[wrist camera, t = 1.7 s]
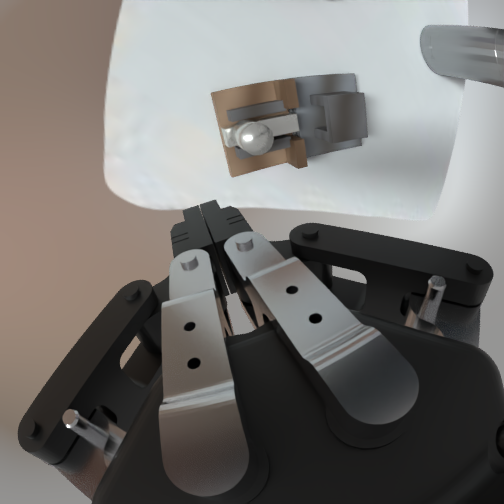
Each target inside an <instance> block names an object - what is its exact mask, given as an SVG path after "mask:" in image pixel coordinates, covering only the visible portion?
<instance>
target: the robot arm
mask: <svg viewBox="0 0 504 504" xmlns="http://www.w3.org/2000/svg"><path fill="white" fill-rule="evenodd" d="M421 49H422V53H423V56H424V59H425V61H426V63H427V64H428V66H429V67H430V69H431V70H432V71H434V72H435V73H436V74H439V75H446V76H452V77H458V78H463V79H469V80H474V81H479V82H483V83H488V84H492V85H496V86H500V87H504V29H497V28H488V27H478V26H462V25H428V26H426V27H425V28H424V29H423V31H422V33H421ZM200 208H201V211H202V214H201V211H200ZM200 208H199V206H198V205H197V206H194V207H191V208H188V209H185V210H183V214H184V219H185V221H184V222H181V223H178V224H175V225H174V226H173V228H172V230H171V240H172V248H173V255H174V259H173V261H172V262H171V264H170V269H169V271H170V272H169V273H170V274H169V276H168V277H167V278H166V279H165V280H163V281H161V282H160V283H158V284H156V285H155V286H153V287H152V285H151V284H150V282H148V281H146V280H137V281H133V282H131V283H129V284H127V285H125V286H124V287H123V288H122V289H120V291H118V293H117V294H116V295H115V296H114V298H113V299H112V300H111V301H110V302H109V303H108V304H107V306H106V307H105V308H104V309H103V310H102V312H101V313H100V314H99V315H98V317H97V318H96V319H95V320H94V321H93V322H92V324H91V325H90V326H89V328H88V329H87V330H86V331H85V332H84V334H83V335H82V336H81V338H80V339H79V340H78V341H77V343H76V344H75V345H74V347H73V348H72V349H71V350H70V352H69V353H68V354H67V356H66V357H65V358H64V360H63V361H62V362H61V364H60V365H59V366H58V368H57V369H56V370H55V372H54V373H53V374H52V376H51V377H50V379H49V380H48V381H47V383H46V384H45V386H44V387H43V388H42V390H41V391H40V393H39V394H38V396H37V397H36V398H35V400H34V401H33V403H32V404H31V406H30V407H29V409H28V411H27V412H26V413H25V415H24V416H23V418H22V420H21V422H20V424H19V428H18V440H19V443H20V445H21V447H22V448H23V449H24V450H25V451H27V452H28V453H30V454H32V455H34V456H36V457H38V458H39V459H41V460H43V461H44V462H45V463H46V464H48V465H50V466H52V467H54V468H56V469H57V470H58V471H59V472H61V473H62V474H63V475H64V476H65V477H66V478H67V479H68V480H69V481H70V482H71V483H72V484H73V485H74V486H75V487H77V488H78V489H79V490H80V491H81V492H82V493H84V494H85V495H86V496H87V497H88V498H89V499H91V500H92V504H504V388H503V384H502V379H501V376H500V372H499V370H498V368H497V366H496V364H495V363H494V361H493V360H492V358H491V357H490V356H489V355H488V354H487V353H485V352H484V351H483V350H481V349H480V348H478V347H479V332H480V307H481V305H482V303H483V300H484V298H485V296H486V293H487V291H488V288H489V286H490V284H491V281H492V279H493V270H492V268H491V266H490V265H489V264H488V262H486V261H485V260H484V259H482V258H480V257H478V256H476V255H472V254H468V253H464V252H459V251H455V250H450V249H446V248H442V247H437V246H433V245H428V244H423V243H419V242H414V241H409V240H404V239H399V238H394V237H389V236H384V235H379V234H374V233H369V232H363V231H358V230H353V229H347V228H341V227H336V226H330V225H324V224H319V223H306V224H302V225H299V226H297V227H295V228H294V229H293V230H291V232H290V235H289V238H290V240H283V241H276V242H275V241H268V240H267V239H266V238H265V237H264V236H263V235H262V234H260V233H258V232H254V231H253V230H252V229H251V227H250V226H249V224H248V223H247V221H246V220H245V218H244V217H243V216H242V214H241V213H240V211H239V210H238V209H236V208H234V207H231V206H229V207H226V208H223V209H220V207H219V205H218V203H217V201H216V200H212V201H209V202H206V203H203V204H200ZM202 215H203V216H202ZM203 218H204V219H203ZM332 265H333V266H337V267H342V268H346V269H350V270H355V271H358V272H360V273H362V274H363V275H364V276H365V278H366V280H367V284H364V283H359V282H355V281H351V280H347V279H343V278H339V277H335V276H332ZM221 269H222V270H221ZM222 272H223V273H222ZM223 275H224V276H223ZM224 277H225V280H226V282H227V285H228V287H229V290H230V292H231V294H233V293H236V292H237V293H238V295H239V299H240V302H241V305H242V308H243V310H244V311H245V313H246V315H247V316H248V318H249V320H250V322H251V324H252V325H253V327H254V329H255V330H254V331H252V332H250V333H246V334H240V335H234V331H233V327H232V323H231V319H230V315H229V312H228V309H227V301H226V298H225V296H227V295H229V291H228V288H227V285H226V283H225V280H224ZM135 336H137V338H138V339H139V340H140V342H141V343H140V344H139V346H138V347H137V349H136V350H135V351H134V353H133V354H132V356H131V357H130V359H129V360H128V361H127V363H126V364H125V366H124V367H123V369H121V367H120V358H121V356H122V354H123V352H124V351H125V350H126V348H127V346H128V345H129V344H130V343H131V341H132V340H133V338H134V337H135Z"/></svg>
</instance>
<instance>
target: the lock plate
mask: <svg viewBox="0 0 504 504" xmlns="http://www.w3.org/2000/svg"><path fill="white" fill-rule="evenodd" d="M211 96H212V100H213V105H214V109H215V113H216V117H217V121H218V126H219V130H220V134H221V138H222V142H223V147H224V151H225V155H226V159H227V163H228V168H229V172H230V175H231V177H236V176H239V175H243V174H246V173H250V172H253V171H257V170H260V169H264V168H268V167H271V166H275V165H279V164H283V163H289V164H291V165H292V166H294V167H296V168H298V169H299V168H303V167H307V166H308V165H307V157H311V156H316V155H320V154H324V153H329V152H333V151H338V150H343V149H348V148H352V147H357V146H362V143H361V138H366V137H368V131H367V118H366V107H365V98H364V93H359V92H357V90H356V82H355V74H330V75H317V76H306V77H297V78H289V79H282V80H274V81H268V82H262V83H256V84H250V85H245V86H240V87H235V88H230V89H225V90H221V91H217V92H212V93H211ZM288 109H293V113H296V114H297V119H298V125H299V131H297V132H296V134H297V136H294V135H292V133H287V134H282V135H278V136H273V137H274V140H273V144H272V147H271V148H270V149H269V151H267V152H266V153H264V154H262V155H252V154H250V153H248V152H246V151H245V150H243V149H242V148H240V147H239V146H233V147H227V146H226V145H225V142H224V138H223V134H222V130H221V128H222V127H225V126H229V125H233V124H236V123H237V122H239V121H241V120H255V119H259V118H264V117H269V116H274V115H279V114H284V113H289V112H288Z"/></svg>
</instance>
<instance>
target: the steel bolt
mask: <svg viewBox="0 0 504 504" xmlns="http://www.w3.org/2000/svg"><path fill="white" fill-rule="evenodd" d="M221 130H222V134H223V138H224V142H225V145H226V146H227V147H233V146H239V147H240V148H242V149H243V150H245V151H246V152H248V153H250V154H252V155H262V154H264V153H266V152H267V151H269V149H270V148H271V147H272V144H273V140H274V137H273V136H278V135H282V134H287V133H292V132H297V131H299V125H298V119H297V114H296V113H290V112H289V113H284V114H279V115H274V116H269V117H264V118H259V119H255V120H241V121H239V122H237V123H236V124H233V125H229V126H225V127H222V128H221Z"/></svg>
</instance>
